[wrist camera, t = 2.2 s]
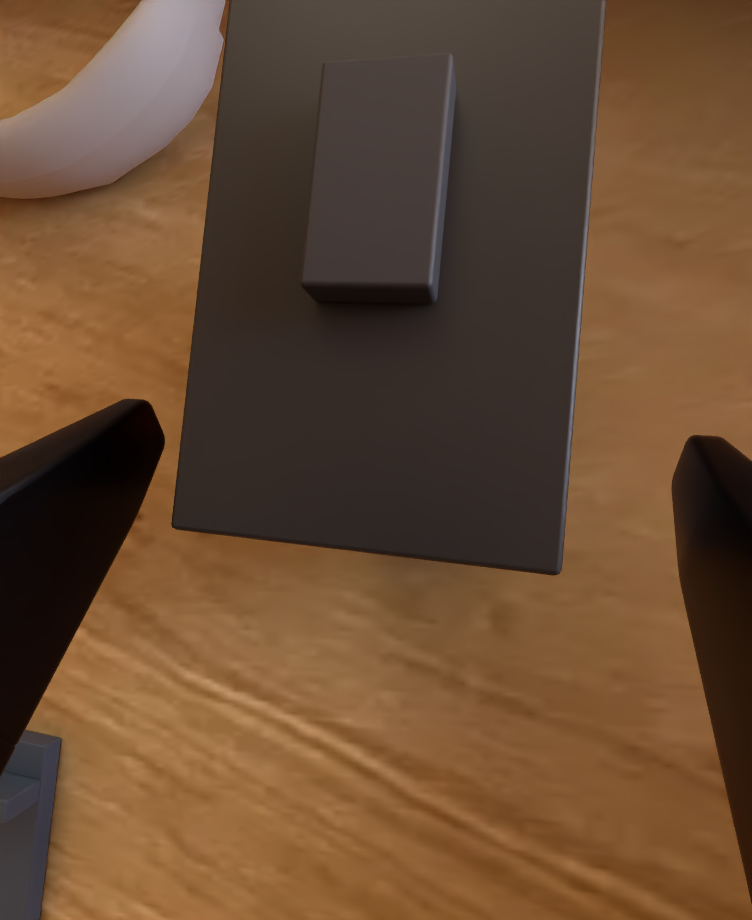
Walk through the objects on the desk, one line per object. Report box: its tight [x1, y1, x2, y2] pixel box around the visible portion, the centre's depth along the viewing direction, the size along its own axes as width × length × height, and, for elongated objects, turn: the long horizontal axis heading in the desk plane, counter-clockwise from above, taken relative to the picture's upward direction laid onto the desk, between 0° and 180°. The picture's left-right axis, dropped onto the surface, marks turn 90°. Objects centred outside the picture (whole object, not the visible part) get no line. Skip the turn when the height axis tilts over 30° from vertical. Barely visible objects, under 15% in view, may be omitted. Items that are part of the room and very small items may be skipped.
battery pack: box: [171, 0, 606, 575], centre depth 13 cm, size 5×9×13 cm, turn 174°
